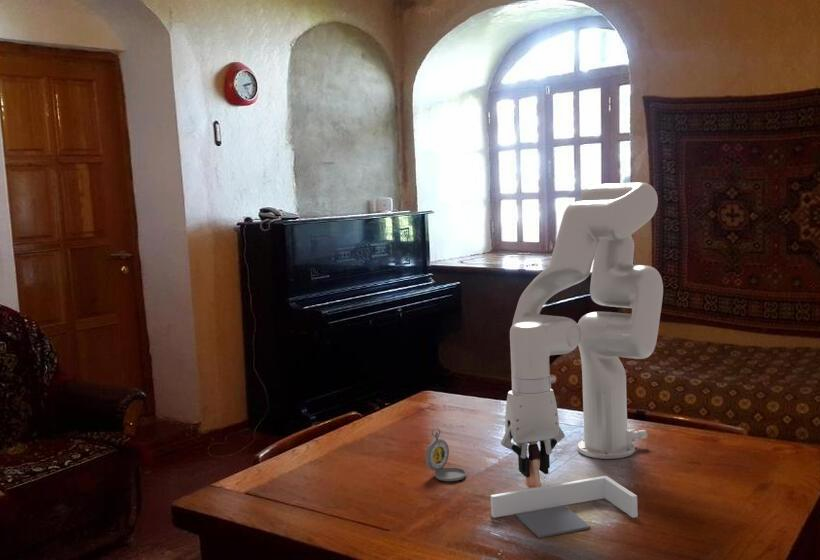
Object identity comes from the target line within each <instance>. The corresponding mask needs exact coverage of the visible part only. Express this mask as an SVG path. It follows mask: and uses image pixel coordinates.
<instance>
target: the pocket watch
mask: <svg viewBox="0 0 820 560" xmlns="http://www.w3.org/2000/svg"><path fill="white" fill-rule="evenodd" d="M436 430H438V432H437V431H436ZM434 431H436V432H435V433H434ZM440 434H441V430H440V428H438V427H437V428H436V427H435V428H433V429H432V431H431V435H432V436H433V437H434V438H435V439H434V440H433V441H431V442H430V443H429V444H428V446H427V448H426V452H425V463H426V465H427V467H428V468H429V469H431V470H432V471H435V472H434V477H435V478H436V479H437V480H439V481H443V482H455V481H457V482H458V481H460V480H463V479H464V478H465V477H466V476H467V471H466V470H465V469H464V468H461V467H445V466H446V464H447V462H448V459H449V457H450V456H449V455H450V449H449V448H450V447H449V445H448V443H447V442H446V440H444V439H441V438H439V436H440ZM444 467H445V468H444Z"/></svg>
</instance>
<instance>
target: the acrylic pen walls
mask: <svg viewBox="0 0 820 560" xmlns="http://www.w3.org/2000/svg"><path fill="white" fill-rule="evenodd" d="M601 499H605V500H607V501H608V502H609V503H611V504H612V505H614V506H615V507H617V508H618V509H620V510H621V511H622V512H624V513H625V514H627V515H628V516H629V517H631V518H632V519H633V518H638V517H639V516H638V495H636V494H635V493H634V492H632V491H630V490H629V489H627V488H626V487H624V486H623V485H622V484H619V483H618V482H617V481H615V480H614V479H612V478H611V477H609V476H607V475H602V476H596V477H595V476H594V477H589V478H584V479H583V478H582V479H579V480H578V479H577V480H574V481H573V480H572V481H567V482H562V483H555V484H550V485H549V484H548V485H544V486H543V485H541V487H536V488H530V489H529V488H525V489H519V490H512V491H505V492H501V493H495V494H490V510H491V511H490V512H491V514H490V515H491V517H492V518H493V519H494V518H499V517H505V516H512V515H516V514H520V513H525V512H531V511H536V510H542V509H548V508H553V507H559V506H568V505H573V504H579V503H585V502H589V501H596V500H601Z"/></svg>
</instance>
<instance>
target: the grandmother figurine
mask: <svg viewBox="0 0 820 560" xmlns="http://www.w3.org/2000/svg"><path fill="white" fill-rule="evenodd" d="M538 442H539V441H536V442H529V443H528V446H527V453H528V458H529V461H530V476H529V477H527V478H526V477H525V483H524V484H525V486H526V487H527V486H529V487H528V489H530V488H536V487H542V483H541V476H540V470H539V469H540V452H539V451H540V448H539V447H540V446H539V445H538Z"/></svg>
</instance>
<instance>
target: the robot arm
mask: <svg viewBox="0 0 820 560" xmlns="http://www.w3.org/2000/svg"><path fill="white" fill-rule="evenodd" d="M658 200H659V198H658V193H657V191H656V190H655V188H654V187H653V186H652V185H651V184H650V183H648V182H621V183H620V182H617V183H616V182H615V183H600V184H598V183H597V184H594V185H590V186H588V187H586V188H584V190H583V191H582V193H581V196H580V200H578V201H574V202H573V203H570V204H569V205H568V206H567V207H566V209H565V210H564V213H563V215H562V219H561V222H560V226H559V228H558V229H559V230H558V232H557V237H556V240H555V243H554V247H553V250H552V253H551V258H550V261H549V263H548V265H547V267H546V268H545V269H543V270H542V271H541V272H539V273H538V274H537V275H536V277H534V278H533V280H531V282H530V283H529V284H528V285H527V287H526V288H525V289H524V290H523V292H522V293H521V295H520V296H519V299H518V302H517V304H516V305H517V306H516V309H515V312H514V314H513V315H514V316H513V319H512V324H511V326H510V329H509V342H510V343H509V346H510V347H509V349H510V369H511V390H509V391H508V392H507V397H506V403H505V413H504V414H505V415H504V416H505V417H504V418H505V419H504V436H503V438H502V440H501V442H500V445H501V446H503V448H506V449H509V450H511V451H513V452H514V453H515V454H516V455H517V457H518V458H517V459H518V461H517V462H518V471H519V472H520V474H521V475H523V476H524V477H525V479H526V478H527V477H529V476H530V461H529V456H528V446H529V442H536V441H538V442H539V447H540V448H539V452H540V469H539V472H542V473H543V474H544V475H549V472H550V471H549V469H550V467H551V464H550V455H551V454H552V451H553V450H554V448H555V447H556V445H557V444H558V443H560V441H562V440H563V439H564V438H565V437H566V435H565V433H564V432H563V430H562V428H561V426H560V422H559V421H560V420H559V411H558V407H557V406H558V405H557V400H556V396H555V392H554V389H552V384H553V383H556V382H557V378H556V376H555V375H551V374H550V373H551V372H550V371H551V370H550V356H555V355H556V356H557V355H565V354H569V353H571V352H572V351H574V350H575V349H576V348H578V350H579V353H580V363H581V372H582V373H581V375H582V377H581V379H582V410H583V411H582V412H583V439H582V440H580V441H578V443H577V451H578V452H579V453H580V454H582V455H583V456H585V457H588V458H589V457H590V458H593V459H601V460H603V459H604V460H616V459H621V458H622V459H623V458H626V457H629V456H632V455H633V454H634V453H635V452H636V446H635V444H634V443H633V442H635V441H636V440H642V439H647V437H648V431H647V430H646V429H641V430H640V429H639V430H636V429H635V428H628V409H627V403H628V401H627V374H626V370H625V368H624V365H623V363H622V361H621V360H620V358H627V359H635V360H641V359H642V360H643V359H646V358H649V357H650V356H651V355H652V354H653V352H654V351H655V349H656V346H657V345H656V344H657V340H658V335H659V327H660V320H661V313H662V305H663V297H664V283H663V278H662V275H661V274H660V272H659V271H658V270H657V269H656V268H655V267H653V266H650V265H647V264H646V265H644V264H634V254H635V253H634V252H635V241H634V239H633V236H632V235H633V234H634V233H636V232H637V231H638V230H640V228H642V227H643V226H645V225H646V224H647V223H649V222H650V220H651V219H652V218H653V217H654V216H655V213H656V212H657V209H658V206H659V205H658V204H659V201H658ZM591 269H592V270H591ZM590 273H591V277H590V284H589V285H590V286H589V295H590V298H591V300H592V301H593V302H594V303H595V304H596V305H599V306H603V307H612V308H614V307H615V308H624V309H625V308H626V309H631V313H624V312H623V313H622V312H612V311H591V312H589V313H586V314H584V315H582V316H581V317H580V319H579V320H578V323H577V322H576V321H575V320H574V319H573V318H570V317H566V316H559V315H549V314H548V315H547V314H541V311H542V309H543V307H544V305H545V304H546V303H547V302H548V300H549V299H551V298H552V297H553V296H555V295H556V294H558V293H559V292H562V291H564V290H566V289H569V288H570V287H572V286H575V285H578V284H580V283H582V282H583V281H585V280H587V279H588V278H589V276H590ZM512 440H513V442H514V443H513V442H512Z"/></svg>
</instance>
